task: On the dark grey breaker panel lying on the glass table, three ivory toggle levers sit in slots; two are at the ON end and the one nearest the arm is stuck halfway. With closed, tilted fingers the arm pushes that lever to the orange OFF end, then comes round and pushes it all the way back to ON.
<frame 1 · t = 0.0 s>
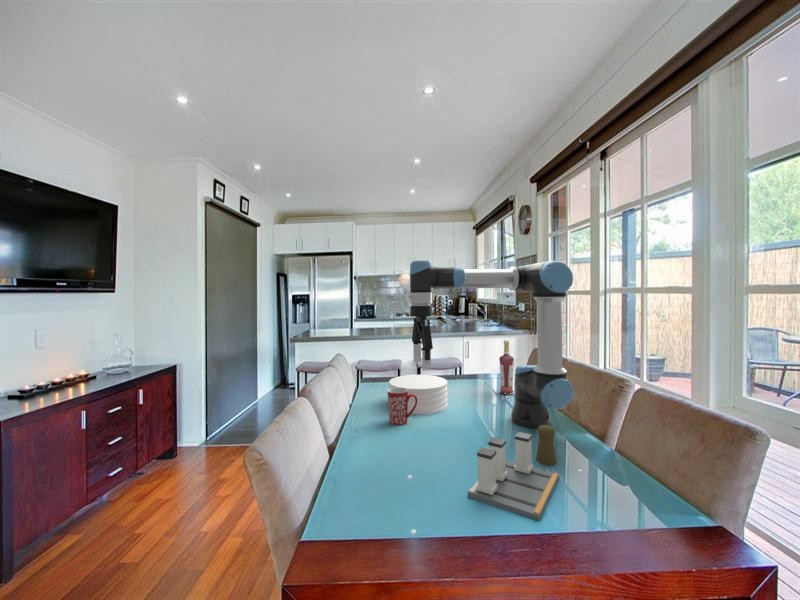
hand: (421, 365, 125), 28 cm above the table, tool pointing down, fingers open, 13 cm apart
liquor: (506, 393, 188), on the table
tripped lever: (523, 452, 104), point 7 cm above the table, slide at 5.0 cm
lever mid: (497, 458, 100), point 7 cm above the table, slide at 10.0 cm
plate stack: (418, 405, 171), on the table
cork: (546, 461, 112), on the table
lever far: (486, 470, 93), point 7 cm above the table, slide at 10.0 cm
mug: (402, 422, 148), on the table
panel: (515, 486, 97), on the table
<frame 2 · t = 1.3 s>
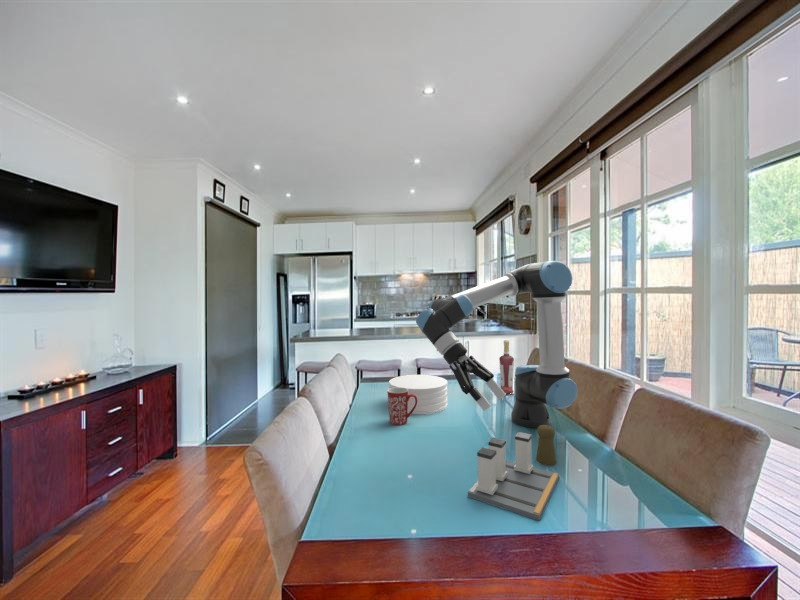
hand: (495, 402, 108), 20 cm above the table, tool tilted 45°, fingers open, 13 cm apart
nothing on the table moved.
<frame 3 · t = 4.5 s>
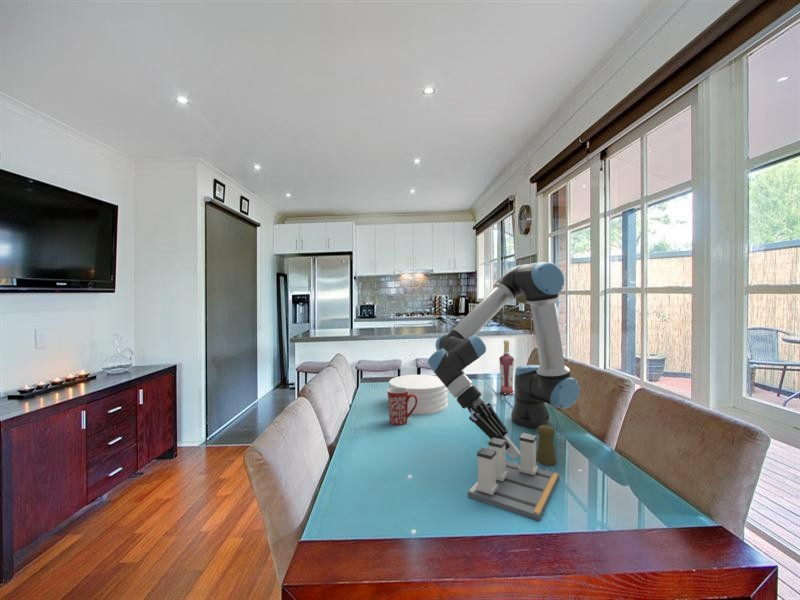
hand: (517, 456, 105), 5 cm above the table, tool tilted 45°, fingers closed
tripped lever: (528, 453, 103), point 7 cm above the table, slide at 3.7 cm, touching gripper
everything else where it was.
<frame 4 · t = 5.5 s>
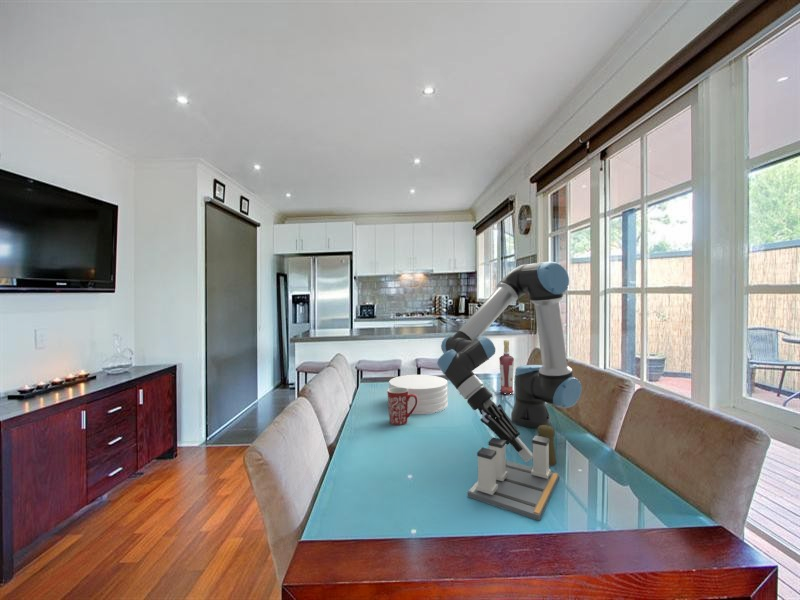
hand: (530, 459, 103), 5 cm above the table, tool tilted 45°, fingers closed
tripped lever: (540, 456, 101), point 7 cm above the table, slide at 0.2 cm, touching gripper
everything else where it was.
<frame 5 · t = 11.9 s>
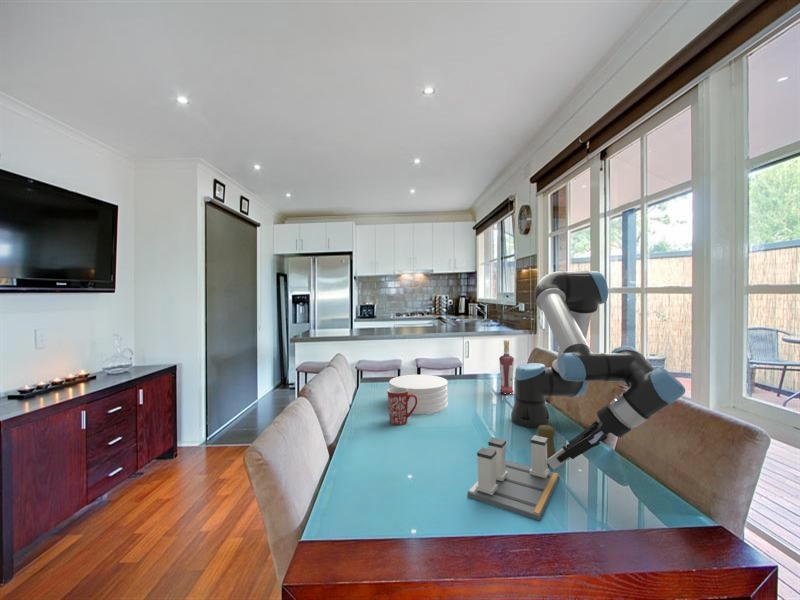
hand: (550, 464, 100), 5 cm above the table, tool tilted 45°, fingers closed
tripped lever: (539, 456, 101), point 7 cm above the table, slide at 0.6 cm, touching gripper
everything else where it was.
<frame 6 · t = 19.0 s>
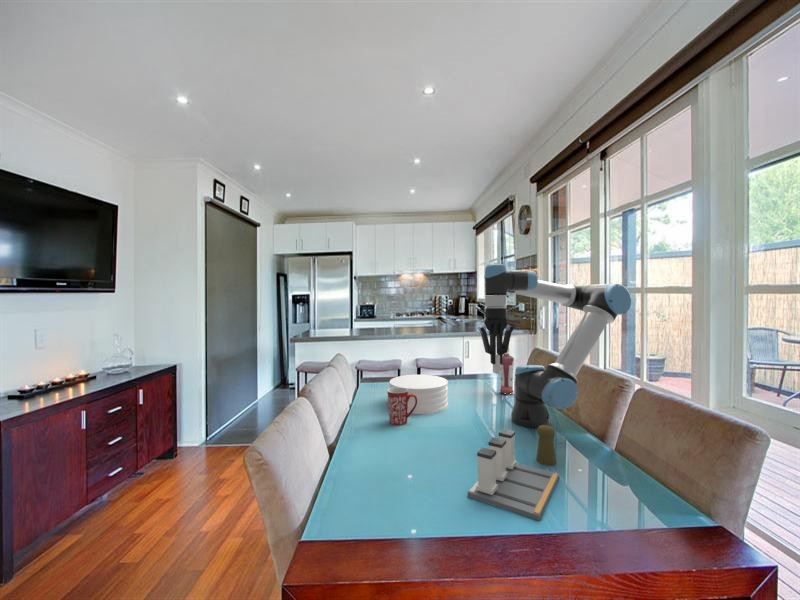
hand: (496, 372, 128), 24 cm above the table, tool pointing down, fingers closed
tripped lever: (506, 448, 107), point 7 cm above the table, slide at 9.9 cm
everything else where it was.
at the end: tripped lever slide at 9.9 cm; lever mid slide at 10.0 cm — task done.
